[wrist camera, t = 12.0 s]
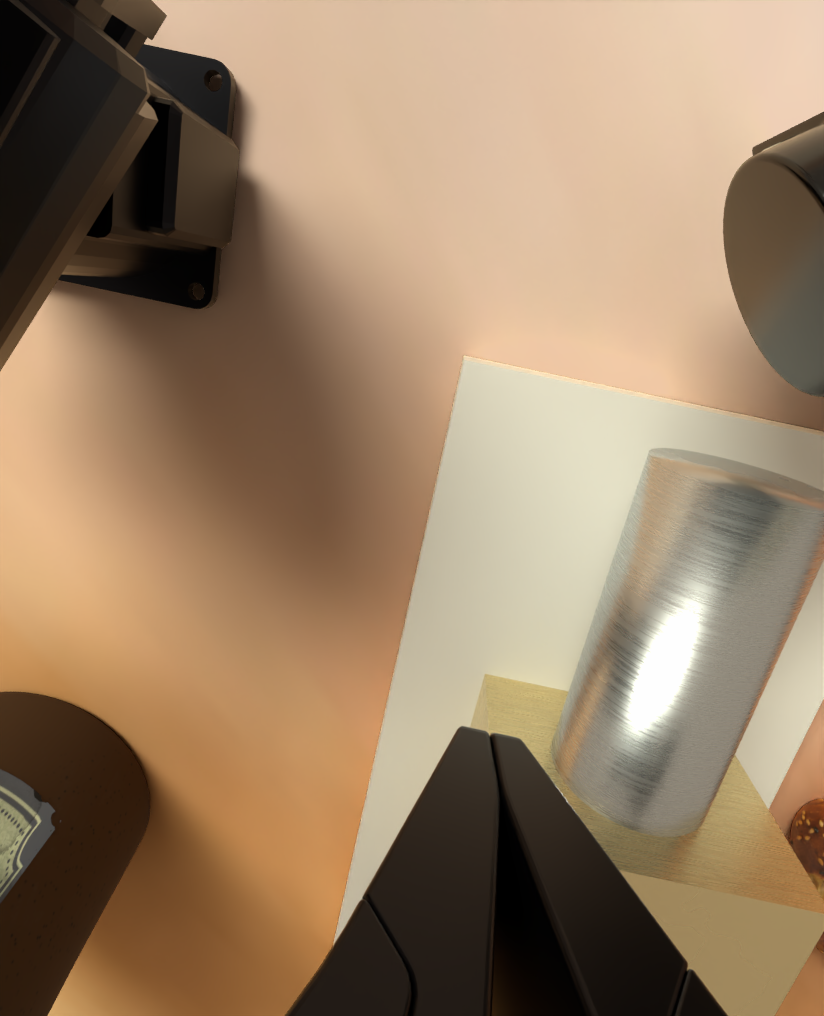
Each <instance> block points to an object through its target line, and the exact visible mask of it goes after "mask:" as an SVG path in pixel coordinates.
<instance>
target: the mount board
mask: <svg viewBox="0 0 824 1016" xmlns="http://www.w3.org/2000/svg"><path fill="white" fill-rule="evenodd" d="M654 448H671V449H680V450H686V451H692V452H698V453H703V454H708V455H712V456H717V457H721V458H725V459H729V460H733V461H737V462H741V463H745V464H748V465H752V466H755V467H758V468H762V469H765V470H768V471H771V472H775V473H778V474H781V475H784V476H787V477H789V478H792V479H795V480H798V481H800V482H803V483H806V484H808V485H811V486H813V487H815V488H818V489H820V490H822V491H824V432H823V431H819V430H814V429H809V428H805V427H800V426H795V425H790V424H786V423H781V422H776V421H772V420H767V419H762V418H757V417H753V416H748V415H743V414H739V413H734V412H729V411H724V410H720V409H715V408H710V407H706V406H701V405H696V404H691V403H687V402H682V401H677V400H673V399H668V398H663V397H658V396H654V395H649V394H644V393H639V392H635V391H630V390H625V389H621V388H616V387H611V386H606V385H602V384H597V383H592V382H588V381H583V380H578V379H573V378H569V377H564V376H559V375H555V374H550V373H545V372H540V371H536V370H531V369H526V368H522V367H517V366H512V365H507V364H503V363H498V362H493V361H489V360H484V359H479V358H474V357H470V356H465V355H464V356H463V360H462V365H461V370H460V374H459V379H458V383H457V388H456V392H455V397H454V401H453V406H452V410H451V415H450V419H449V424H448V428H447V433H446V437H445V442H444V446H443V451H442V455H441V460H440V464H439V469H438V473H437V478H436V482H435V487H434V491H433V496H432V500H431V505H430V509H429V514H428V518H427V523H426V527H425V532H424V536H423V541H422V545H421V550H420V554H419V559H418V563H417V568H416V572H415V577H414V581H413V586H412V590H411V595H410V599H409V604H408V608H407V613H406V617H405V622H404V626H403V631H402V635H401V640H400V644H399V649H398V653H397V658H396V662H395V667H394V671H393V676H392V680H391V685H390V689H389V694H388V698H387V703H386V707H385V712H384V716H383V721H382V726H381V730H380V735H379V739H378V744H377V748H376V753H375V757H374V762H373V766H372V771H371V775H370V780H369V784H368V789H367V793H366V798H365V802H364V807H363V811H362V816H361V820H360V825H359V829H358V834H357V838H356V843H355V847H354V852H353V856H352V861H351V865H350V870H349V874H348V879H347V883H346V888H345V892H344V897H343V901H342V906H341V910H340V915H339V919H338V924H337V928H336V933H335V937H334V942H333V945H334V943H335V942H336V940H337V938H338V937H339V935H340V934H341V932H342V930H343V929H344V927H345V925H346V924H347V922H348V920H349V918H350V917H351V915H352V913H353V911H354V910H355V908H356V906H357V904H358V903H359V901H360V900H362V897H363V895H364V893H365V891H366V889H367V888H368V886H369V884H370V882H371V881H372V879H373V877H374V875H375V874H376V872H377V870H378V868H379V866H380V865H381V863H382V861H383V859H384V858H385V856H386V854H387V852H388V851H389V849H390V847H391V845H392V844H393V842H394V840H395V838H396V836H397V835H398V833H399V831H400V829H401V828H402V826H403V824H404V822H405V821H406V819H407V817H408V815H409V813H410V812H411V810H412V808H413V806H414V805H415V803H416V801H417V799H418V798H419V796H420V794H421V792H422V791H423V789H424V787H425V785H426V783H427V782H428V780H429V778H430V776H431V775H432V773H433V771H434V769H435V768H436V766H437V764H438V762H439V761H440V759H441V757H442V755H443V753H444V752H445V750H446V748H447V746H448V745H449V743H450V741H451V739H452V738H453V736H454V734H455V732H456V731H457V729H458V728H459V727H460V726H466V727H470V725H471V722H472V718H473V715H474V711H475V707H476V704H477V700H478V697H479V693H480V690H481V686H482V682H483V679H484V675H485V674H489V675H493V676H498V677H503V678H507V679H512V680H517V681H522V682H526V683H531V684H536V685H540V686H545V687H550V688H555V689H559V690H564V691H569V689H570V686H571V683H572V680H573V677H574V674H575V671H576V668H577V665H578V662H579V659H580V656H581V653H582V650H583V647H584V644H585V641H586V638H587V635H588V632H589V629H590V626H591V623H592V620H593V617H594V614H595V611H596V608H597V605H598V602H599V599H600V596H601V593H602V590H603V587H604V584H605V581H606V578H607V575H608V572H609V569H610V566H611V563H612V560H613V557H614V554H615V551H616V548H617V545H618V542H619V539H620V536H621V533H622V530H623V527H624V524H625V521H626V518H627V515H628V512H629V510H630V507H631V504H632V501H633V498H634V495H635V492H636V489H637V486H638V483H639V480H640V477H641V474H642V471H643V468H644V465H645V462H646V459H647V456H648V453H649V450H651V449H654ZM823 699H824V561H823V563H822V565H821V567H820V569H819V571H818V574H817V576H816V578H815V580H814V582H813V585H812V587H811V589H810V591H809V593H808V595H807V598H806V600H805V602H804V604H803V606H802V609H801V611H800V613H799V615H798V617H797V620H796V622H795V624H794V626H793V628H792V630H791V633H790V635H789V637H788V639H787V641H786V644H785V646H784V648H783V650H782V652H781V655H780V657H779V659H778V661H777V663H776V665H775V668H774V670H773V672H772V674H771V676H770V679H769V681H768V683H767V685H766V687H765V690H764V692H763V694H762V696H761V698H760V700H759V703H758V705H757V707H756V709H755V711H754V714H753V716H752V718H751V720H750V722H749V724H748V727H747V729H746V731H745V733H744V735H743V738H742V740H741V742H740V744H739V746H738V749H737V751H736V753H735V755H736V757H737V759H738V760H739V762H740V763H741V765H742V767H743V768H744V770H745V772H746V773H747V775H748V777H749V778H750V780H751V782H752V783H753V785H754V787H755V788H756V790H757V792H758V793H759V795H760V796H761V798H762V800H763V801H764V803H765V805H766V806H767V808H768V809H769V807H770V805H771V803H772V801H773V799H774V797H775V795H776V793H777V791H778V789H779V787H780V785H781V783H782V781H783V779H784V777H785V775H786V773H787V771H788V769H789V767H790V765H791V763H792V761H793V759H794V757H795V755H796V753H797V751H798V749H799V747H800V745H801V743H802V741H803V739H804V737H805V735H806V733H807V731H808V729H809V727H810V725H811V723H812V721H813V719H814V717H815V715H816V713H817V711H818V709H819V707H820V705H821V703H822V701H823ZM332 947H333V946H332Z"/></svg>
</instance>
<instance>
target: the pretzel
mask: <svg viewBox="0 0 824 1016" xmlns="http://www.w3.org/2000/svg"><path fill="white" fill-rule="evenodd" d="M788 842H789V844H790V846H791V848H792V849H793V851H794V853H795V854H796V856H797V857H798V859H799V861H800V862H801V864H802V866H803V867H804V869H805V871H806V872H807V874H808V876H809V877H810V879H811V881H812V882H813V884H814V886H815V887H816V889H817V890H818V892H819V894H820V895H821V897H822V899H823V900H824V799H817V800H813V801H811V802H809V803H808V804H806V805H804V806H803V807H802V808H801V809H800V810H799V811H798V812H797V814H796V817H795V818H794V820H793V823H792V827H791V834H790V838H789V841H788ZM816 947H817V948H818V949H819V950H820V951H821V952H822V953H824V932H823V933H822V935H821V937H820V939H819V940H818V942H817V944H816Z"/></svg>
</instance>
